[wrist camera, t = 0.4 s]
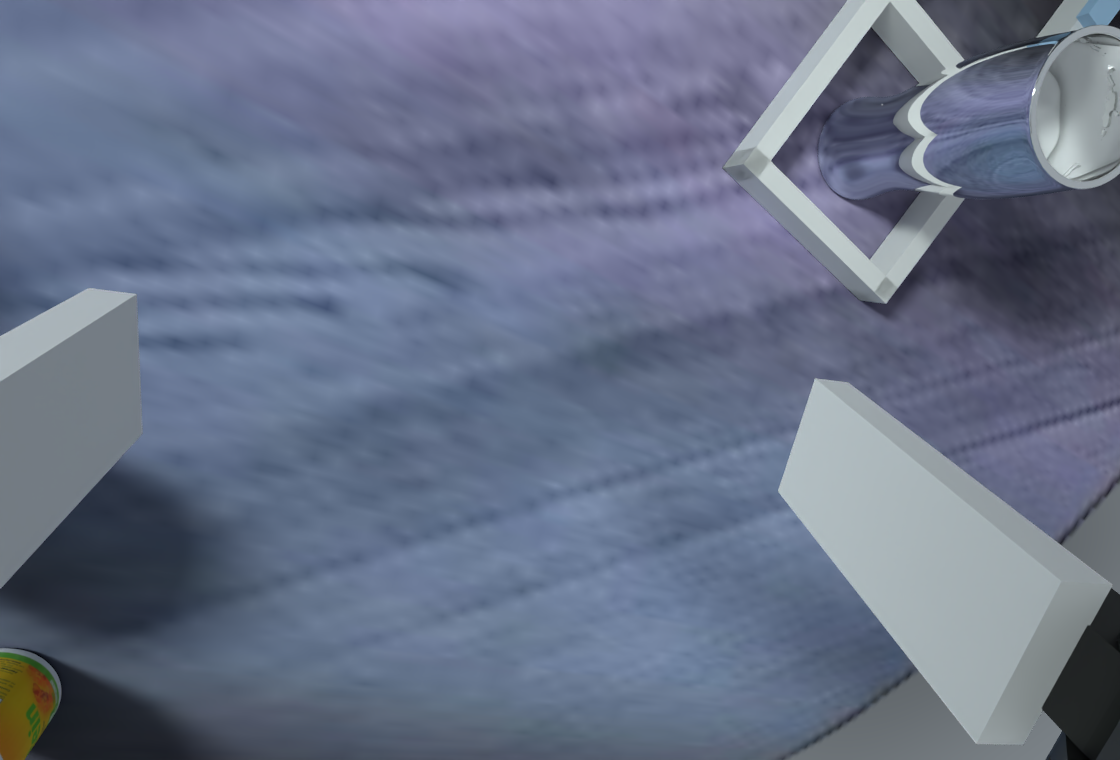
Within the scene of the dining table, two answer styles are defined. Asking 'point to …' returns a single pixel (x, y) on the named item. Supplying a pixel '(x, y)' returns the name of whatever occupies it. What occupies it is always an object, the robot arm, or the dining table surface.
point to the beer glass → (988, 125)
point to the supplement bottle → (25, 701)
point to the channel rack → (869, 4)
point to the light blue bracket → (1098, 12)
